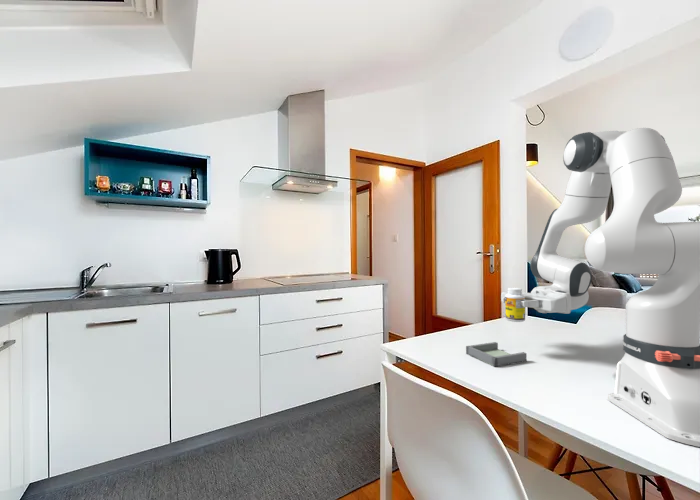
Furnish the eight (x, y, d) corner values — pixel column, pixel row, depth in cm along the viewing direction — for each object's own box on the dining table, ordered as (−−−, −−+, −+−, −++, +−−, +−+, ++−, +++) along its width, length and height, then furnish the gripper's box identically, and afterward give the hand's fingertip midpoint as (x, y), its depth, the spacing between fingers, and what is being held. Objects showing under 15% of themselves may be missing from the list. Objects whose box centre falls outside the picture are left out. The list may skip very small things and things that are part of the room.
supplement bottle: (502, 318, 101) (501, 287, 101) (519, 318, 101) (518, 287, 101) (511, 322, 96) (510, 289, 96) (529, 322, 96) (528, 289, 96)
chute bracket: (495, 349, 104) (495, 341, 104) (526, 361, 92) (526, 353, 92) (466, 353, 100) (466, 346, 100) (494, 367, 88) (494, 358, 88)
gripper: (518, 286, 113) (488, 288, 108) (575, 293, 93) (541, 296, 89) (518, 303, 113) (488, 306, 108) (575, 314, 93) (541, 318, 89)
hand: (512, 302), depth 98 cm, fingers closed on supplement bottle, 6 cm apart
